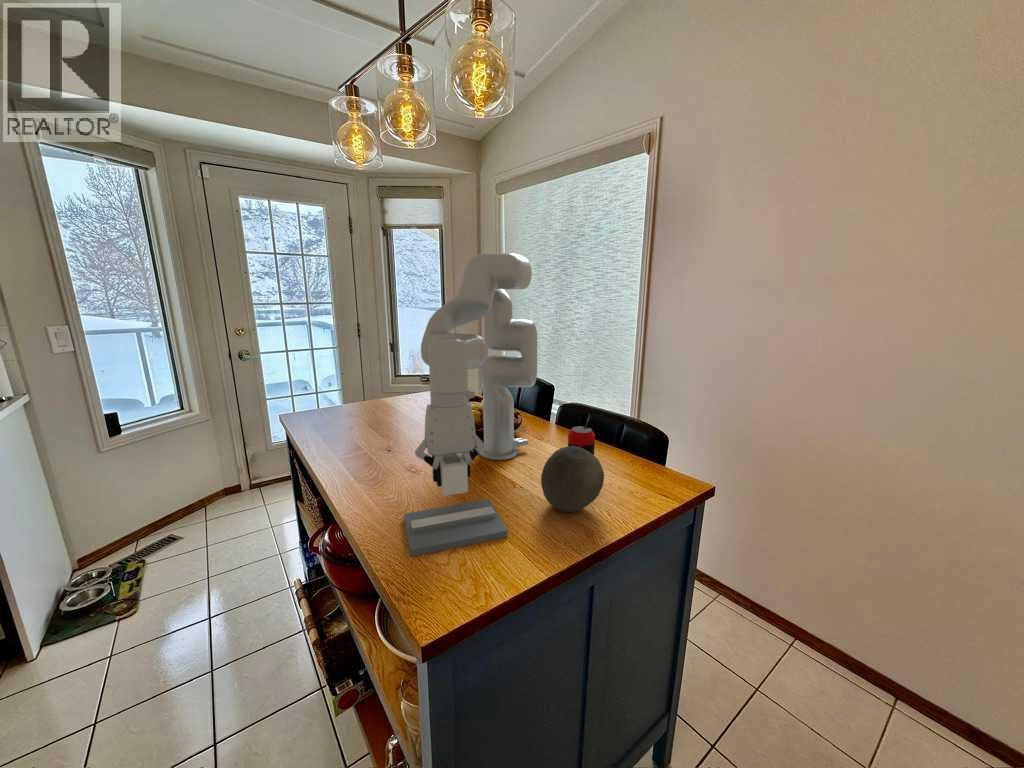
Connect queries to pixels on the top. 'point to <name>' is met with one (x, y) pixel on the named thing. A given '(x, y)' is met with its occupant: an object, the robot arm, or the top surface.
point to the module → (453, 474)
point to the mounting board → (453, 529)
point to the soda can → (582, 438)
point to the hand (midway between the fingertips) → (451, 481)
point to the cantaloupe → (571, 479)
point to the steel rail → (452, 519)
